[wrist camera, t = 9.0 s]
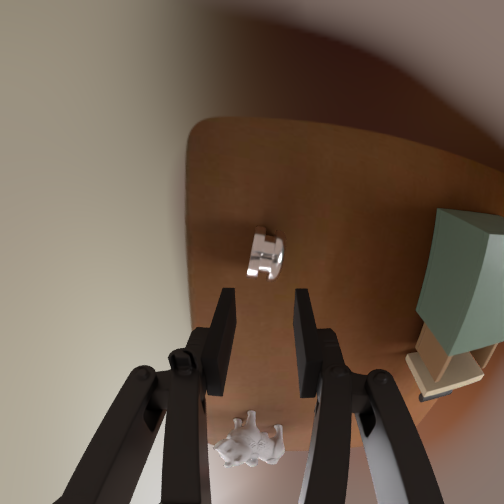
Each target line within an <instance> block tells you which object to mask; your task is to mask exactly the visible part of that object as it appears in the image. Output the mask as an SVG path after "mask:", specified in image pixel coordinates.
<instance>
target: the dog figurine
mask: <svg viewBox="0 0 504 504" xmlns="http://www.w3.org/2000/svg"><path fill="white" fill-rule="evenodd" d="M247 413H248V418H247V421H246V424H245V425H244V426H242V423H243V422H242V421H241V419H239V418H235V419H233V420H234V423H235V429H233V430H232V431H231V432H230V433H229V434H228V436H227V439H223V440H220V441H219V442H217V443H216V444H215V446H214V447H213V449H214V450H216V451H218V452H219V455H220V457H222V458H223V459H224V460H225V465H224V467H226V468H228V467H232V466H236V465H240V464H243V463H244V462H246V463H247V464H248V465H249V466H251V467H254V466H256V465H257V464H258V458H259V459H260V460H262V461H265V462H267V463H268V464H276V463H277V462H278V460H279V458H280V457H281V456H282V455H283V454H284V452H285V448H284V444H283V436H282V425H279V424H277V425H274V427H275V429H276V431H277V432H276V435H275V436H274V437H272V438H269V437H268V434H267V433H266V432H259V429H258V428H257V427H256V422H255V419H256V412H255V411H252V410H249V411H248V412H247ZM251 459H252V460H251Z"/></svg>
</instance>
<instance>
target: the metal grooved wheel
mask: <svg viewBox="0 0 504 504" xmlns="http://www.w3.org/2000/svg"><path fill="white" fill-rule="evenodd" d="M265 234H266V227H261V226H256V230H255V235H254V240H253V245H252V250H251V256H250V261H249V266H248V272H247V278H251V279H257V276H258V272H260V273H265V274H267V277H266V280H267V281H268V282H274V281H276V280H277V279H278V278H279V276H280V273H281V270H282V266H283V262H284V257H285V251H286V235H285V233H284V232H283V231H281V230H276V231H275V234H274V236H268V235H265Z"/></svg>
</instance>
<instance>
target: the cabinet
mask: <svg viewBox="0 0 504 504" xmlns="http://www.w3.org/2000/svg"><path fill="white" fill-rule="evenodd" d="M416 312H417V313H418V314H419V315H420V317H421V318H422V320H423V321H424V322H425V324H426V325H427V326H428V328H429V329H430V331H431V332H432V333H433V335H434V336H435V338H436V339H437V341H438V342H439V343H440V345H441V346H442V348H443V349H444V351H445V352H446V354H447V355H448V357H449V356H453V355H457V354H461V353H465V352H469V351H473V350H476V349H480V348H483V347H486V346H490V345H493V344H496V343H499V342H502V341H504V218H503V217H501V216H499V215H492V214H485V213H477V212H469V211H461V210H452V209H443V208H437V214H436V221H435V228H434V234H433V240H432V245H431V250H430V255H429V260H428V265H427V269H426V274H425V278H424V282H423V286H422V289H421V293H420V297H419V300H418V304H417V307H416Z"/></svg>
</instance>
